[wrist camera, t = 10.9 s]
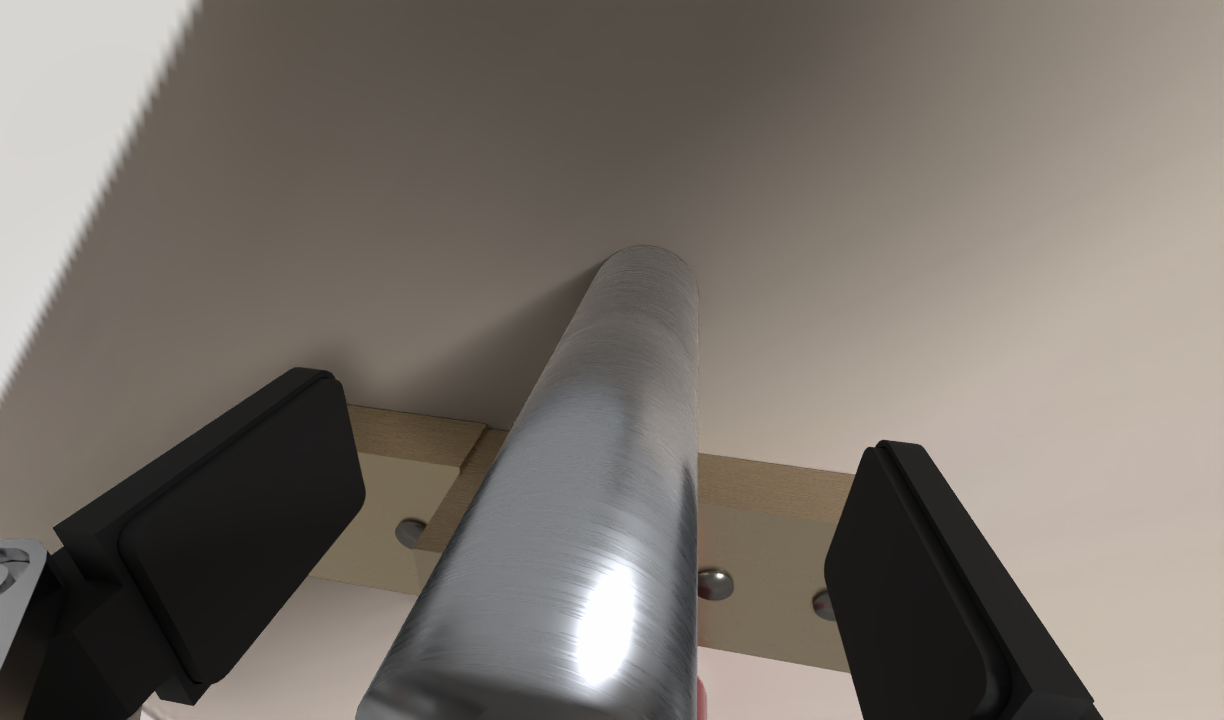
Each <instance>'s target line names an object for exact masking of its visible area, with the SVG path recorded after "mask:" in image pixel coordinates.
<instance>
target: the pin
mask: <svg viewBox="0 0 1224 720" xmlns="http://www.w3.org/2000/svg"><path fill="white" fill-rule="evenodd" d="M698 331H699V295H698V287H697V283H696V280H695V278H694V276H693V274H692V272H691V270H690V269H689V268H688V266H687V265H686V264H685V263H684V262H683V261H682V260H681V259H680V258H679V257H677V256H676V255H674V254H673V253H671V252H669V251H667V250H665V249H662V248H659V247H654V246H643V245H641V246H633V247H629V248H626V249H623V250H621V251H619V252H617V253H615V254H614V255H612V256H611V257H610V258H608V259H607V260H606V261H605V262H604V263H603V265H602V266H601V267H600V269H599V271H598V272H597V274H596V276H595V278H594V279H593V281H592V283H591V285H590V287H589V289H588V290H587V292H586V294H585V296H584V298H583V299H582V301H581V303H580V305H579V307H578V308H577V310H576V312H575V314H574V316H573V318H572V319H571V321H570V323H569V325H568V327H567V328H566V330H565V332H564V334H563V336H562V338H561V339H560V341H559V343H558V345H557V347H556V348H555V350H554V352H553V354H552V356H551V357H550V359H549V361H548V363H547V365H546V367H545V368H544V370H543V372H542V374H541V376H540V377H539V379H538V381H537V383H536V385H535V387H534V388H533V390H532V392H531V394H530V396H529V397H528V399H527V401H526V403H525V405H524V406H523V408H522V410H521V412H520V414H519V416H518V417H517V419H516V421H515V423H514V425H513V426H512V428H511V430H510V432H509V434H508V436H507V437H506V439H505V441H504V443H503V445H502V446H501V448H500V450H499V452H498V454H497V455H496V457H495V459H494V461H493V463H492V465H491V466H490V468H489V470H488V472H487V474H486V475H485V477H484V479H483V481H482V483H481V485H480V486H479V488H478V490H477V492H476V494H475V495H474V497H473V499H472V501H471V503H470V504H469V506H468V508H467V510H466V512H465V514H464V515H463V517H462V519H461V521H460V523H459V524H458V526H457V528H456V530H455V532H454V534H453V535H452V537H451V539H450V541H449V543H448V544H447V546H446V548H445V550H444V552H443V553H442V555H441V557H440V559H439V561H438V563H437V564H436V566H435V568H434V570H433V572H432V573H431V575H430V577H429V579H428V581H427V583H426V584H425V586H424V588H423V590H422V592H421V593H420V595H419V597H418V599H417V601H416V602H415V604H414V606H413V608H412V610H411V612H410V613H409V615H408V617H407V619H406V621H405V622H404V624H403V626H402V628H401V630H400V632H399V633H398V635H397V637H396V639H395V641H394V642H393V644H392V646H391V648H390V650H389V652H388V653H387V655H386V657H385V659H384V661H383V662H382V664H381V666H380V668H379V670H378V671H377V673H376V675H375V677H374V679H373V681H372V682H371V684H370V686H369V688H368V690H367V691H366V693H365V695H364V697H363V699H362V701H361V702H360V704H359V706H358V709H357V713H356V716H355V720H697V583H698Z"/></svg>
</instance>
